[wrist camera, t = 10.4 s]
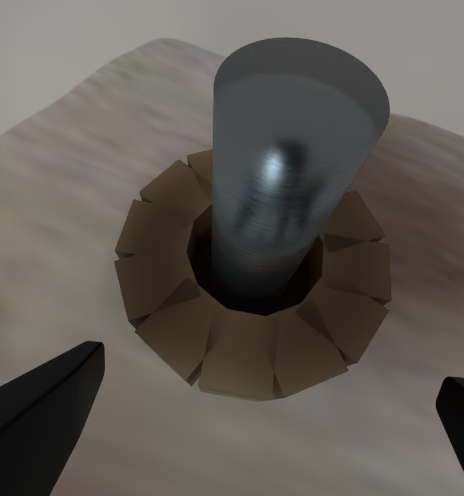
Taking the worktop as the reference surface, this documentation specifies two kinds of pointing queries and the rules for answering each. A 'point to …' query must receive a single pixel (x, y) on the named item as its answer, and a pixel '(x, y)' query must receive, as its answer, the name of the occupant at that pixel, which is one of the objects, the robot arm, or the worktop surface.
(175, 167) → the segmented wooden ring
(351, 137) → the tall steel post
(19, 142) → the worktop surface
